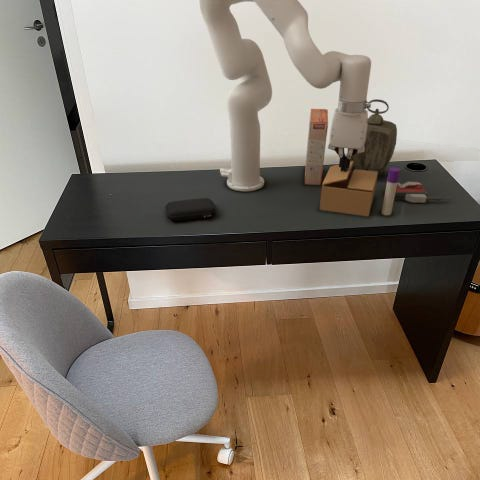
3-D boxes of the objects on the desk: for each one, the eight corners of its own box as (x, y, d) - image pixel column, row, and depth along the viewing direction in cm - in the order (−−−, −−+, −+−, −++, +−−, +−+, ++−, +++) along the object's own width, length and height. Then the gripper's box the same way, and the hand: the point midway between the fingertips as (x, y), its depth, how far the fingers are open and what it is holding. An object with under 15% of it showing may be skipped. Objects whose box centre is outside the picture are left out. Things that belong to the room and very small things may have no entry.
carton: (319, 210, 152) (322, 183, 146) (327, 192, 162) (330, 166, 157) (368, 217, 148) (373, 190, 143) (373, 198, 158) (378, 171, 153)
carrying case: (169, 225, 145) (218, 219, 148) (168, 216, 143) (218, 210, 146) (164, 209, 153) (211, 204, 156) (163, 200, 151) (211, 195, 154)
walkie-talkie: (386, 203, 155) (450, 204, 155) (388, 190, 153) (454, 191, 152) (380, 191, 162) (442, 192, 161) (383, 178, 159) (446, 179, 159)
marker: (380, 215, 149) (388, 170, 140) (381, 211, 152) (389, 166, 143) (390, 216, 149) (399, 171, 140) (391, 212, 151) (400, 167, 142)
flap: (322, 185, 147) (322, 183, 147) (330, 167, 157) (330, 166, 157) (346, 179, 143) (346, 178, 143) (353, 162, 154) (353, 160, 153)
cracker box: (322, 186, 166) (328, 122, 152) (304, 185, 166) (309, 121, 153) (322, 169, 176) (328, 108, 163) (305, 168, 177) (310, 107, 164)
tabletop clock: (390, 174, 173) (404, 98, 157) (384, 184, 166) (399, 106, 150) (349, 167, 177) (359, 93, 162) (342, 177, 171) (352, 101, 155)
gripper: (380, 104, 138) (370, 167, 150) (327, 100, 142) (321, 162, 154) (377, 112, 133) (367, 177, 144) (322, 107, 136) (316, 171, 148)
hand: (343, 169), depth 149 cm, fingers closed
